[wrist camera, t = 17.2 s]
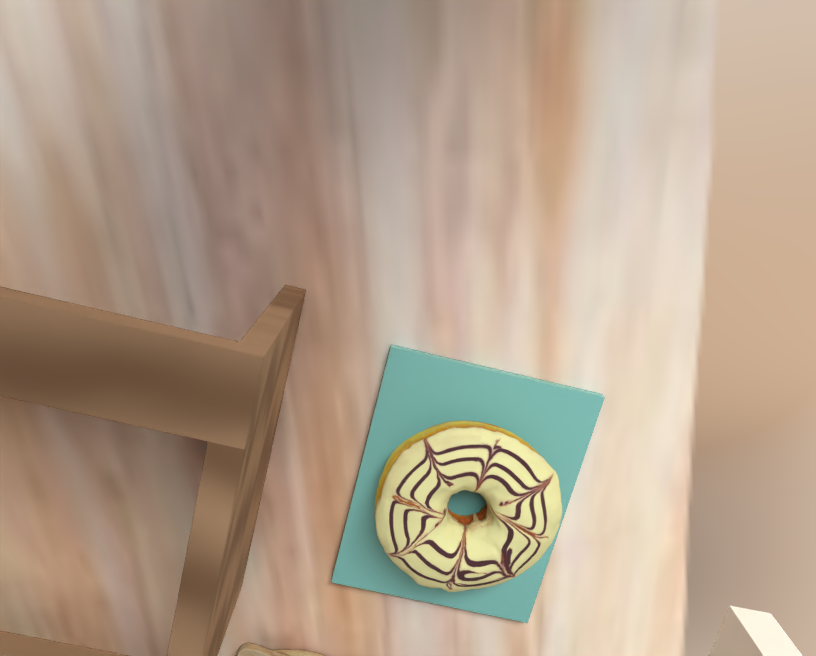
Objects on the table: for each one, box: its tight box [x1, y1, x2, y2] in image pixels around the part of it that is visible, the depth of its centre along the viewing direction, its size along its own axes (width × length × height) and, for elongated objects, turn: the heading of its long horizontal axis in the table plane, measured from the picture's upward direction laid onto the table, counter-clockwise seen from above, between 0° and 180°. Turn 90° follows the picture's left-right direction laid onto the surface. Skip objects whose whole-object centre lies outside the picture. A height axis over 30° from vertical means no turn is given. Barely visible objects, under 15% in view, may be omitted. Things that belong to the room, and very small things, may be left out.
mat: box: [331, 345, 604, 623], centre depth 43 cm, size 16×13×1 cm
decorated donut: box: [375, 420, 562, 592], centre depth 40 cm, size 10×11×4 cm
